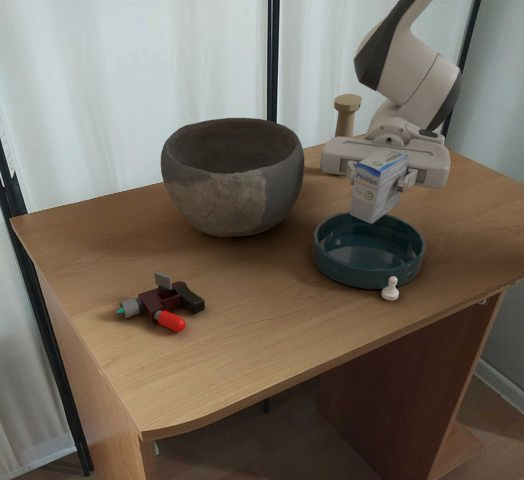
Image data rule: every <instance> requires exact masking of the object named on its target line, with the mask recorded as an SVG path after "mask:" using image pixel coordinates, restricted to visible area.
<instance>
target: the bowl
mask: <svg viewBox="0 0 524 480" xmlns="http://www.w3.org/2000/svg"><path fill="white" fill-rule="evenodd" d="M160 172H161V177H162V180H163V185H164V188H165V190H166V192H167V195H168V196H169V198H170V201H171V202H172V204H173V205H174V207H175V208H176V209H177V211H178V213H179V214H180V215H181V216H182V217H183V218H184V219H185V220H186V221H188V223H189V224H190V225H191V226H192V227H193V228H195V229H196V230H198V231H200V232H202V233H205V234H208V235H211V236H214V237H221V238H226V237H227V238H229V237H245V236H255V235H258V234H261V233H263V232H266V231H268V230H270V229H272V228H275V226H277V225H278V224H280V223H281V222H283V221H284V219H285V218H286V217H287V216H288V215H289V214H290V213H291V211H292V210H293V208H294V206H295V205H296V203H297V200H298V198H299V196H300V194H301V193H300V192H301V189H302V186H303V183H304V173H305V153H304V149H303V146H302V143H301V140H300V138H299V136H298V134H296V133H295V131H294V130H292V129H291V128H289V127H288V126H286V125H283V124H280V123H277V122H275V121H271V120H267V119H262V118H255V117H253V118H252V117H224V118H215V119H214V118H213V119H207V120H204V121H203V120H202V121H199V122H195V123H189V124H185V125H183V126H181V127H179V128H178V129H177V130H175V131H174V132H173V133H171V134H170V136H169V137H168V138H167V139H166V140H165V142H164V144H163V146H162V150H161V153H160Z"/></svg>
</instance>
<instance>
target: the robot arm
mask: <svg viewBox="0 0 524 480" xmlns="http://www.w3.org/2000/svg"><path fill="white" fill-rule="evenodd" d="M433 1H434V0H398V1H397V2H396V4H395V6H394V7H393V8H391V10H390V11H389V12H388V14H387V15H385V16H384V18H383V19H381V20H380V21H379V22H378V23H377V24H375V26H373V27H372V28H371V29H369V31H368V32H367V33H366V35H365V36H364V37H363V39H362V40H361V41H360V43H359V44H358V47H357V49H356V52H355V55H354V57H353V59H352V60H353V66H354V72H355V75H356V78H357V81H358V83H360V84H361V85H363V86H365V87H367V88H369V89H370V90H372V91H374V92H377V93H379V94H380V95H382V96H383V97H385V98H386V99H384V101H382V103H381V104H379V106H378V107H377V109H376V110H375V112H374V114H373V115H372V117H371V120H370V123H369V125H368V128H367V130H366V133H365V135H364V138H357V137H353V138H351V137H335V136H334V137H332V138H331V139H330V140H328V141H327V142H326V143H325V145H324V146H323V148H322V149H321V152H320V160H319V169H320V170H321V171H322V172H323V173H324V174H331V175H335V174H338V175H337V176H339V175H341V176H344V177H345V176H346V177H347V179H348V180H349V185H350V186H354V179H355V172H356V166H357V163H358V162H360V161H362V160H363V159H365V158H367V157H368V156H370V155H372V154H374V153H375V152H377V151H379V150H381V149H383V148H384V147H388V148H391V149H394V150H397V151H400V152H402V153H405V154H407V155H409V160H408V165H407V169H406V174H405V177H402V176H399V179H398V184H397V189H396V191H398V192H401V193H407V189H409V188H411V187H414V186H415V187H423V188H431V189H435V190H436V189H437V190H440V189H443V188H445V187H446V185H447V182H448V180H449V175H450V171H451V166H452V164H451V162H452V161H451V155H450V152H449V150H448V148H447V146H445V142H446V141H445V140H446V137H445V136H444V135H443V134H440V133H437V132H434V131H436V130H437V129H438V128H439V127H440V126H441V125H442V124H443V123H444V122H445V121H446V119H447V118H448V117H449V115H450V113H451V112H452V111H453V110H454V108H455V106H456V105H457V102H458V100H459V98H460V95H461V92H462V86H463V85H462V84H463V75H462V70H461V68H460V67H459V66H457V65H456V64H455V63H453V62H452V61H450V60H449V59H448V58H446V56H444V55H442V54H441V53H440V52H439V51H436V50H434V48H432V47H430V46H429V45H427V44H426V43H425V42H423V41H422V40H420V39H419V38H418V37H416V36H415V35H414V34H413V33H412V30H411V29H412V25H413V24H414V23H415V22H416V20H417V19H418V18H419V17H420V16H421V15H422V14H423V12H425V10H426V9H427V8H428V7H429V6H430V5H431V3H433Z"/></svg>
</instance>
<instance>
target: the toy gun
mask: <svg viewBox="0 0 524 480" xmlns="http://www.w3.org/2000/svg"><path fill="white" fill-rule="evenodd" d="M153 276H154V281H155V285H157V287H155V288H153V289H149V290H147V291H144V292H140V293H138V294H137V298H135V297H132V298H129V299H126V300H123V301H120V302H119V307H120V309H119V310H117V311H115V313H117V314H118V313H119V314H120V313H121V314H122V315H123V317H124V319H129V318H132V317H134V316H138V315H140V314H141V313H142V312H143V313H145V315H146V317H147V318H148V319H149V321H150V323H151V324H152V325H154V324H156V323H157V322H158V324H159V325H161V326H164V327H166V328H167V329H170V330H172V331H174V332H177V333H181V332H183V331H184V330H185V329H186V326H187V323H186V321H185V319H184V318H182V317H180V316H179V315H176V314H174V313H172V312H171V311H173V310H176V309H179V308H185V309H186V310H187V311H189V312H190V313H192V314H197V313H199V312H202V311H204V310H206V304H205V302H206V301H205V299H204V298H202V297H201V296H199V295H198V294H196V293H194V292H192V290H191V289H190V288H189V287H188V286H187V285H188V284H187V283H186V281H180V280H177V281H174V282H172V279H171V276H169V275H167V274H165V273H161V272H159V271H155V272H153Z"/></svg>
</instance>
